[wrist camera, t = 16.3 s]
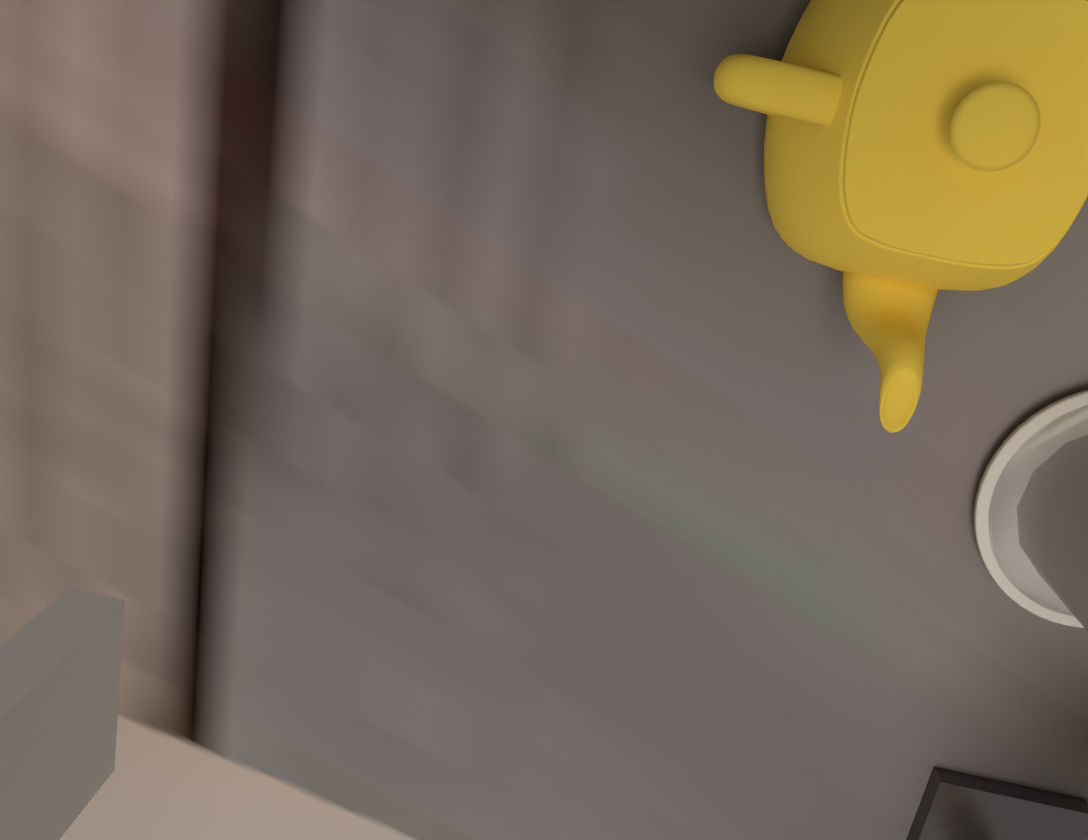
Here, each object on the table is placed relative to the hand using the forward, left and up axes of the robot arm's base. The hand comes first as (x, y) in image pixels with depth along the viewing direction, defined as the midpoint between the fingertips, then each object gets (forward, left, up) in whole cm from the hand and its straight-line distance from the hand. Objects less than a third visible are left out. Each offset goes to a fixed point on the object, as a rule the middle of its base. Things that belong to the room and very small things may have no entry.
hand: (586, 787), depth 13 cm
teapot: (-10, +9, -35) cm, 37 cm away
